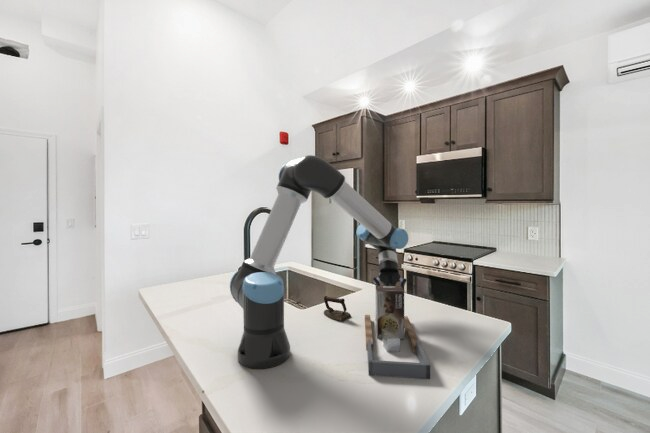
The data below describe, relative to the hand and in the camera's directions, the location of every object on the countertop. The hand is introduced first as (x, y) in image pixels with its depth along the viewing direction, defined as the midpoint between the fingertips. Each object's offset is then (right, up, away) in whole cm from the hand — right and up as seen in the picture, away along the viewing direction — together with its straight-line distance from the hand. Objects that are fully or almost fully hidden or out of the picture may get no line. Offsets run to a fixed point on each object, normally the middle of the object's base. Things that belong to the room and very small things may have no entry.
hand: (392, 321), depth 106 cm
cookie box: (-2, -3, -4) cm, 6 cm away
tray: (-4, -4, -22) cm, 22 cm away
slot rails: (-2, -3, -4) cm, 5 cm away
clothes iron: (-20, -3, +13) cm, 24 cm away
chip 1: (-3, -3, -9) cm, 11 cm away
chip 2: (-4, -4, -13) cm, 14 cm away
